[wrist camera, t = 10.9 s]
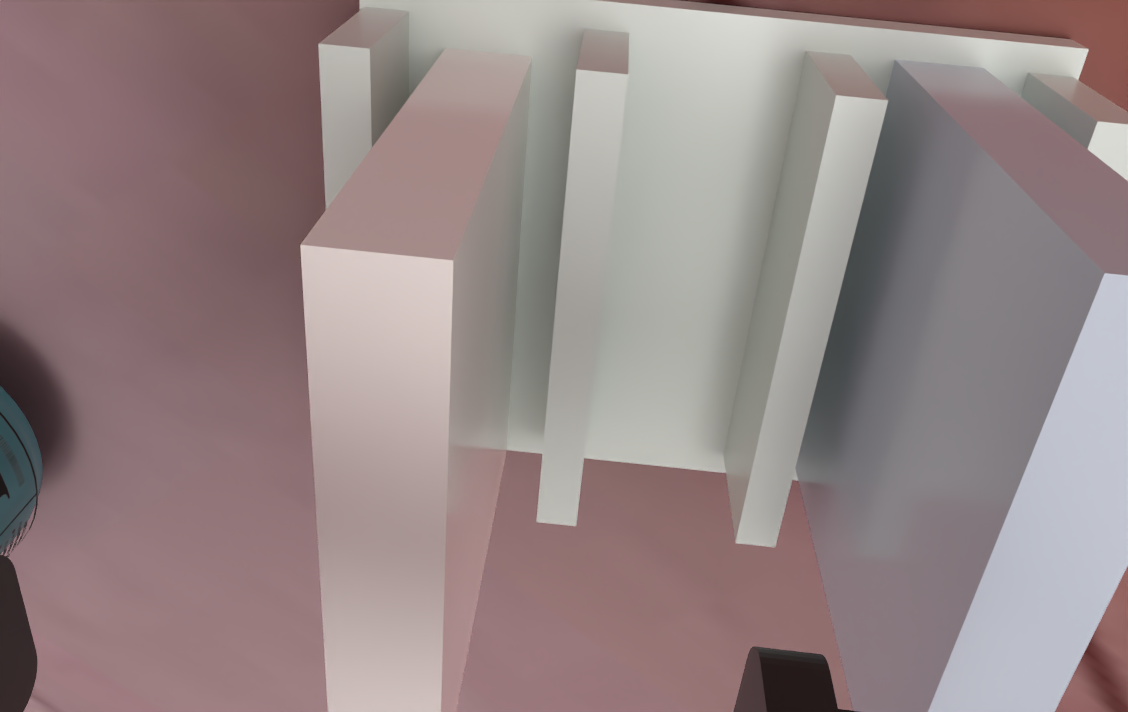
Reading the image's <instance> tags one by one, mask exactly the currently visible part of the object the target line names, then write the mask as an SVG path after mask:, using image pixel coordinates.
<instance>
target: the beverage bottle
mask: <svg viewBox="0 0 1128 712" xmlns="http://www.w3.org/2000/svg"><path fill="white" fill-rule="evenodd" d="M42 470H43V466H42V459H41V453H40V449H39V446H38V442H37V439H36V437H35V434H34V432H33V430H32V427H31V426H30V424H29V422H28V420H27V419H26V417H25V415H24V413H23V412H22V411H21V409H20V408H19V407H18V405H17V404H16V403H15V401H14V400H13V399H12V398H11V397H10V396H9V395H8V393H7V392H6V391H5V390H4V389H3V388H2V387H1V386H0V555H1V553H2V552H3V551H4V553H3V555H4V554H5V552H6V549H7V548H6V547H7V546H8V545H9V544H10V547H12V544H13V541H14V538H15V537H16V536H17V539H16V541H17V540H18V538H19V535H20V531H21V530H22V528H23V527H24V528H25V527H26V526H27V521H28V519H29V518H30V516H31V513H32V511H33V508H34V506H35V502H36V508H35V513H34V518H35V514H36V509H37V502H38V495H39V492H40V488H41V483H42ZM34 518H33V521H34ZM33 521H32V523H33ZM32 523H31V526H32ZM31 526H30V528H31ZM30 528H29V530H30ZM25 529H26V528H25ZM25 529H23V532H25ZM27 533H28V532H27ZM22 536H23V535H22ZM22 536H21V537H22ZM25 536H26V535H25ZM21 537H20V539H22V538H21ZM23 539H24V538H23ZM12 540H13V541H12ZM16 541H15V542H16ZM19 541H20V540H19ZM11 543H12V544H11ZM16 543H17V542H16ZM16 543H15V544H14V545H16ZM18 543H19V542H18ZM17 545H18V544H17ZM13 547H14V546H13ZM10 549H11V548H10ZM10 549H9V550H8V552H9V551H10ZM12 551H13V550H12ZM8 554H9V553H8ZM9 555H10V554H9ZM6 557H7V558H8V555H7V556H6Z"/></svg>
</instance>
